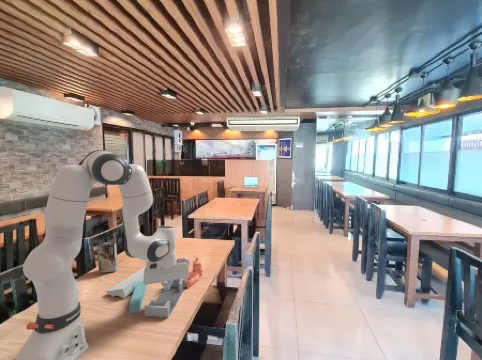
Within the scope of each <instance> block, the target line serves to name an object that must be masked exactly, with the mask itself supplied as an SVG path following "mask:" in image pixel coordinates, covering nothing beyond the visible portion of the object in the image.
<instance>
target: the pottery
mask: <svg viewBox="0 0 482 360" xmlns="http://www.w3.org/2000/svg"><path fill="white" fill-rule="evenodd" d="M202 267H203V265H202V260H201V259H200V258H198V257H196V258H195V259H194V260H193V261H192V270H191V271H189V277H188V278H184V279H185V288H187V289H190V288H192V286H194V285H195V284H196V283H197V282H199V281H200V277H202V276H203V274H204V271H203V268H202Z"/></svg>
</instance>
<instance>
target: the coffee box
mask: <svg viewBox="0 0 482 360" xmlns="http://www.w3.org/2000/svg"><path fill="white" fill-rule="evenodd" d="M96 248H97V259H98V260H97V263H98V264H97V265H98V273H99V274H104V273H111V272H117V269H118V267H119V266H118V254H117V252H118V250H117V241H107V242H99V244H98V245H97V247H96Z"/></svg>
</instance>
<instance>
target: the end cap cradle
mask: <svg viewBox="0 0 482 360" xmlns="http://www.w3.org/2000/svg"><path fill="white" fill-rule="evenodd" d="M169 283H170V282H169V281H165V282H164V284H165V285H169ZM185 288H186V287H185V278H183V279H177V280H173V283H172V285H171V286H170V290H165V291H164V288H163V289H162V291H161V292H160V293H159V295H158V296H157V298H156V299H155V300H154V299H151V301H150V302H149V303H148V305H146V304H145V305H144V307H143V309H144V318H163V319H165V318H167V319H168V318H170V316H171V313H172V312H173V311H174V309H175V307H176V304H177V303H178V301H179V299H180V298H181V297H182V294H183V292H184V291H185Z"/></svg>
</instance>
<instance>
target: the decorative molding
mask: <svg viewBox="0 0 482 360" xmlns="http://www.w3.org/2000/svg"><path fill="white" fill-rule="evenodd" d="M145 267H146V265H145V266H144V267H142V268H140V269H139V270H138V271H136V272H134V273H133V274H131V275H130V276H129V277H127V278H125V279H123V280H122V281H120V282H119V283H116V285H114V286H112V287H111V288H108V290H106V293H107V295H108V296H111V298H112V297H113V298H114V297H117V296H118V297H119V298H121V299H126V298H127V297H128V296H130V295H131V294H133V293H134V290H135V287H136V284H137V282H138V281H143V276H144V269H145Z"/></svg>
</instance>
